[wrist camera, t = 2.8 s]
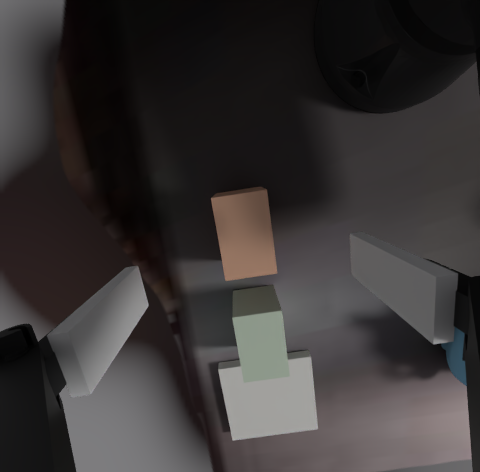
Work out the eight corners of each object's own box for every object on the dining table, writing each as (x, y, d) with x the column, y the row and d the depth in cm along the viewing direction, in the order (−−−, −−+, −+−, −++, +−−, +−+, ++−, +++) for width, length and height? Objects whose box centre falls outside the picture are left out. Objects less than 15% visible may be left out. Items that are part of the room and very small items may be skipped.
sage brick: (232, 290, 31) (232, 317, 25) (273, 284, 30) (281, 310, 25) (242, 345, 33) (243, 382, 27) (280, 340, 32) (289, 376, 27)
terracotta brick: (216, 193, 28) (210, 198, 22) (260, 186, 28) (267, 189, 22) (227, 260, 30) (225, 281, 24) (269, 253, 30) (277, 273, 24)
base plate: (218, 362, 33) (218, 369, 32) (308, 350, 33) (311, 356, 32) (232, 431, 36) (232, 440, 35) (315, 420, 36) (317, 429, 34)
